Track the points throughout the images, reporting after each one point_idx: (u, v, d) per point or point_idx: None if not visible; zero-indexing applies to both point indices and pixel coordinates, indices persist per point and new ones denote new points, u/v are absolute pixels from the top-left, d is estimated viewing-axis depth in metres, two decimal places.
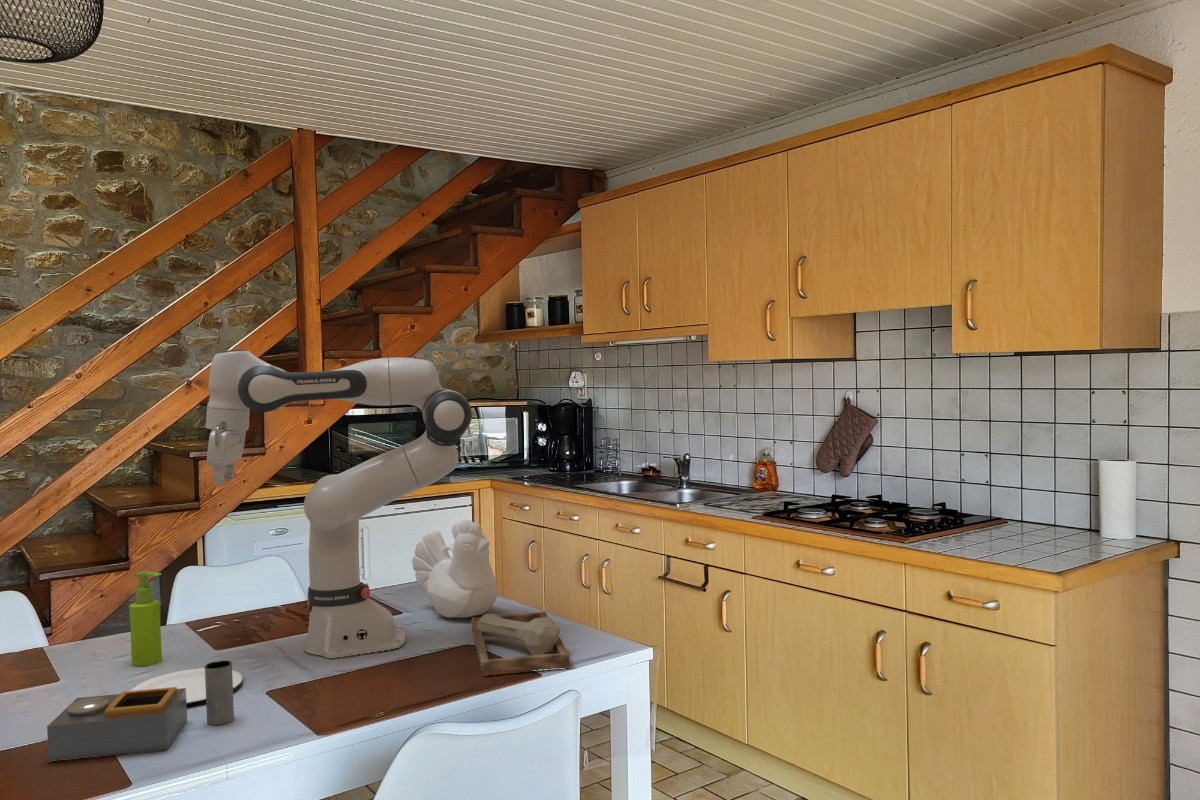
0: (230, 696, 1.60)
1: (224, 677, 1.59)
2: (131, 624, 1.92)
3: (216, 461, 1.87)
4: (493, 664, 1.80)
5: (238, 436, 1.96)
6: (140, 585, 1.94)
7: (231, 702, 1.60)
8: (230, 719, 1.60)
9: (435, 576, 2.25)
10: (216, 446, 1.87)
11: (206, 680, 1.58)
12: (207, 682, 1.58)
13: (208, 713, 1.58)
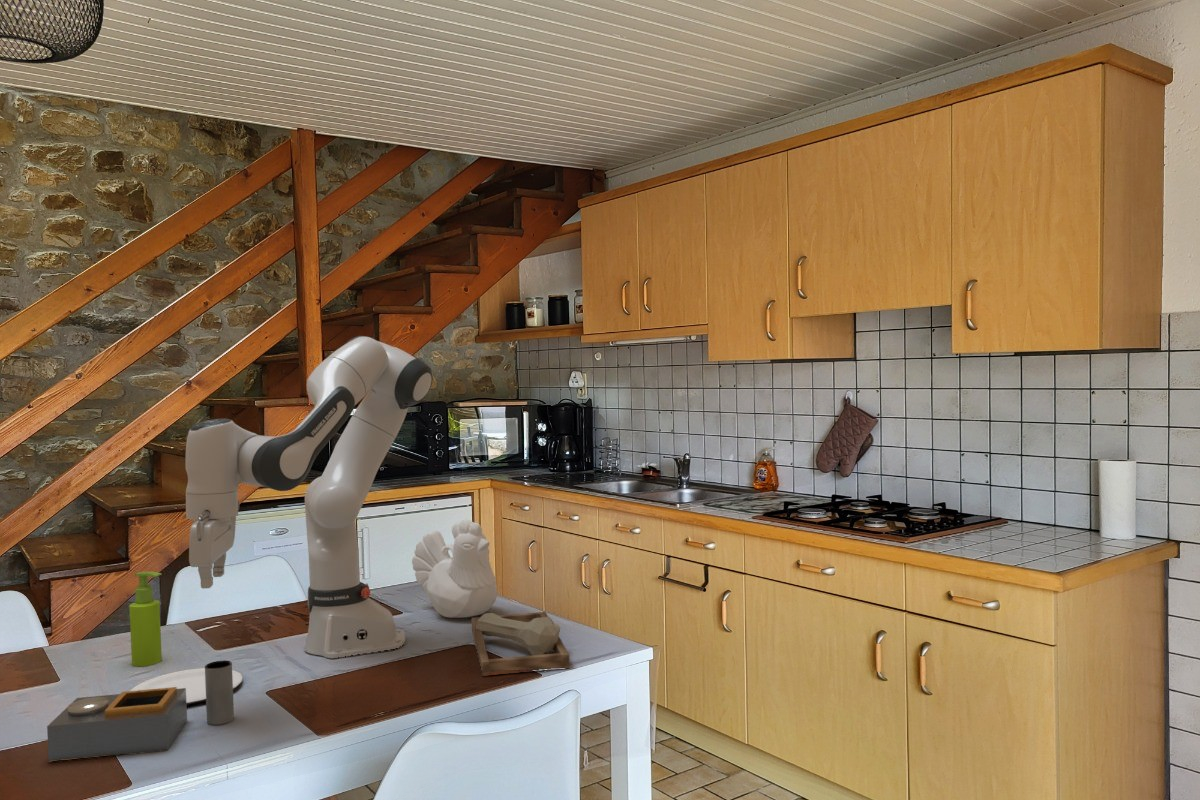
0: (230, 696, 1.60)
1: (224, 677, 1.59)
2: (131, 624, 1.92)
3: (201, 560, 1.53)
4: (493, 664, 1.80)
5: (226, 524, 1.62)
6: (140, 585, 1.94)
7: (231, 702, 1.60)
8: (230, 719, 1.60)
9: (435, 576, 2.25)
10: (199, 542, 1.53)
11: (206, 680, 1.58)
12: (207, 682, 1.58)
13: (208, 713, 1.58)
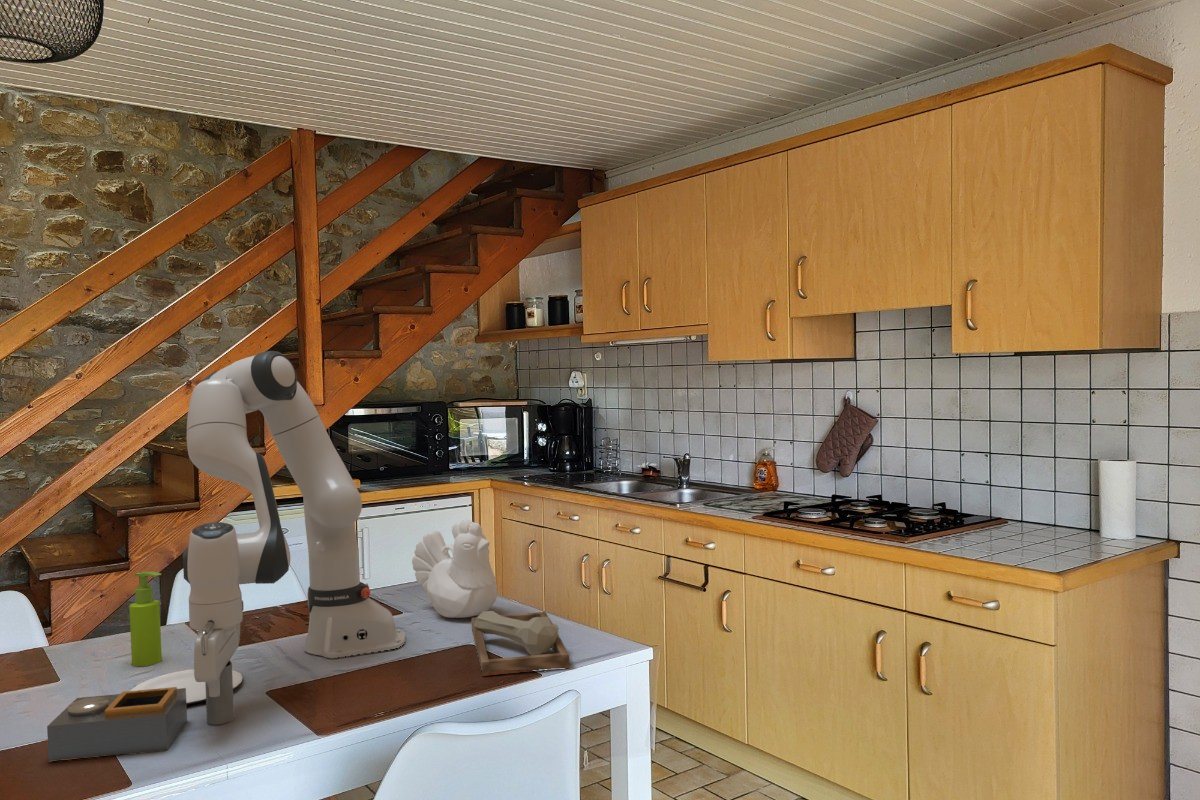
0: (230, 696, 1.60)
1: (224, 677, 1.59)
2: (131, 624, 1.92)
3: (206, 675, 1.50)
4: (493, 664, 1.80)
5: (231, 632, 1.59)
6: (140, 585, 1.94)
7: (231, 702, 1.60)
8: (230, 719, 1.60)
9: (435, 576, 2.25)
10: (204, 657, 1.50)
11: None
12: None
13: (208, 713, 1.58)
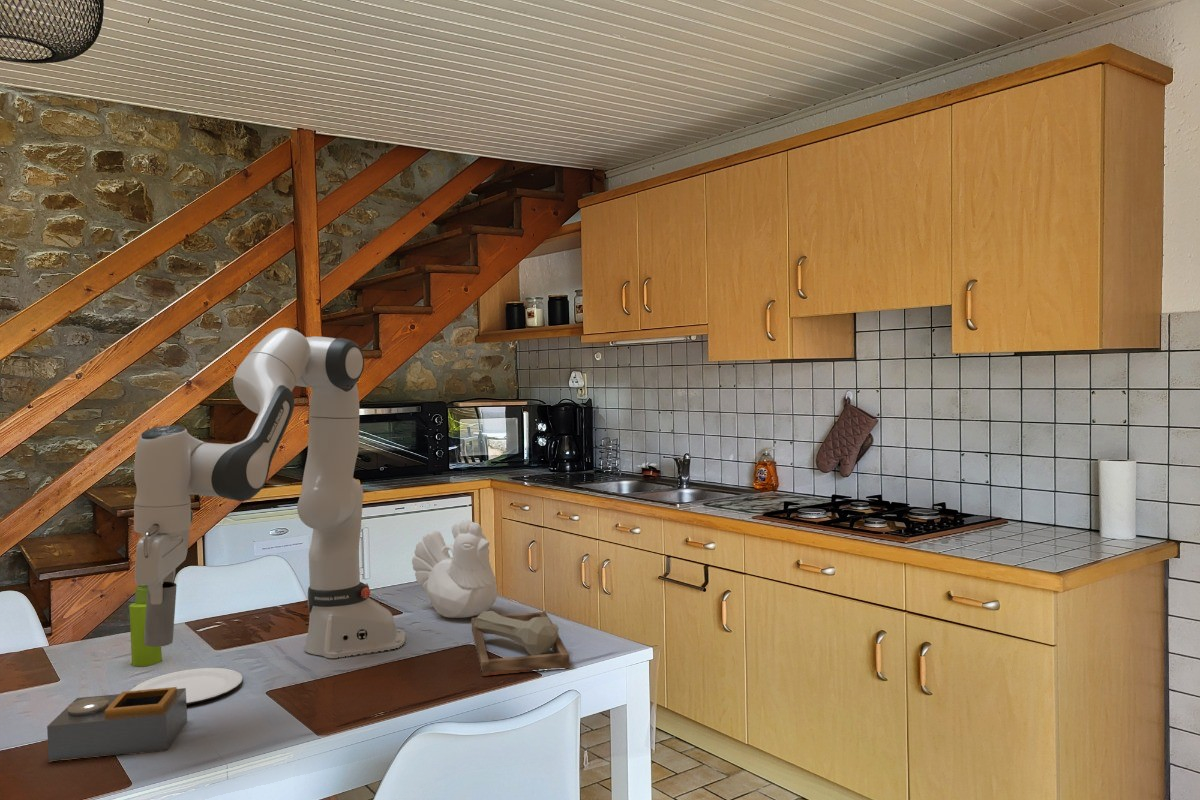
0: (171, 619, 1.53)
1: (166, 598, 1.52)
2: (131, 624, 1.92)
3: (148, 578, 1.44)
4: (493, 664, 1.80)
5: (177, 538, 1.53)
6: (140, 585, 1.94)
7: (171, 625, 1.54)
8: (168, 642, 1.53)
9: (435, 576, 2.25)
10: (146, 559, 1.44)
11: (147, 599, 1.52)
12: (148, 601, 1.52)
13: (146, 634, 1.52)
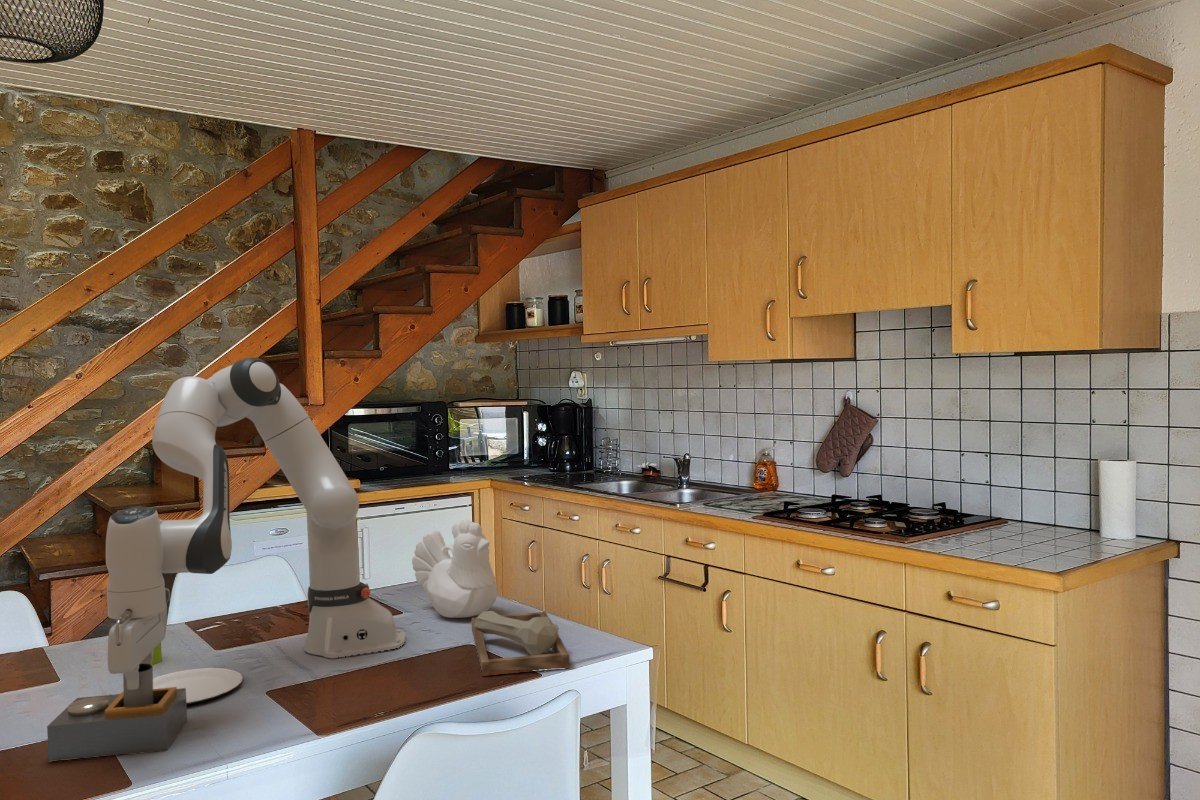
0: (150, 701, 1.52)
1: (143, 682, 1.51)
2: None
3: (121, 666, 1.43)
4: (493, 664, 1.80)
5: (152, 621, 1.52)
6: None
7: None
8: None
9: (435, 576, 2.25)
10: (118, 647, 1.43)
11: (124, 684, 1.51)
12: (125, 686, 1.51)
13: None
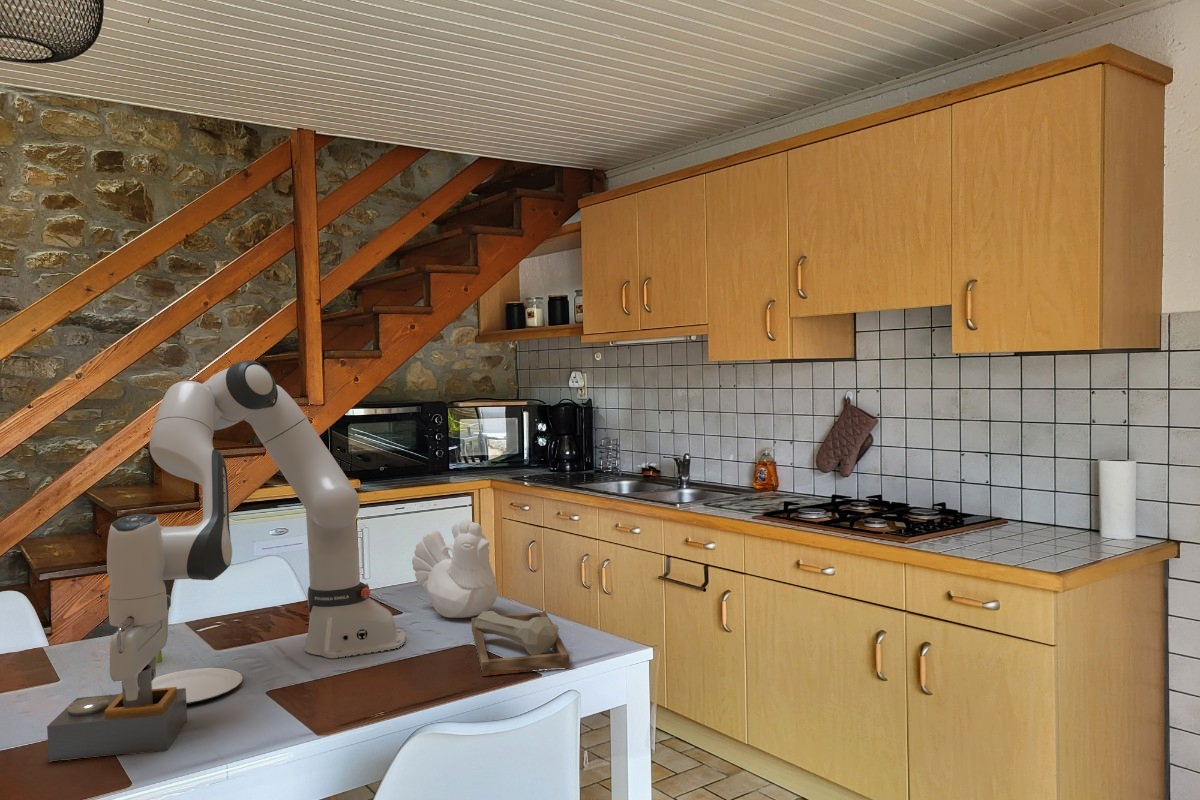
0: (149, 701, 1.52)
1: (141, 681, 1.51)
2: None
3: (123, 674, 1.43)
4: (493, 664, 1.80)
5: (153, 628, 1.52)
6: None
7: None
8: None
9: (435, 576, 2.25)
10: (120, 655, 1.43)
11: None
12: (123, 687, 1.51)
13: None
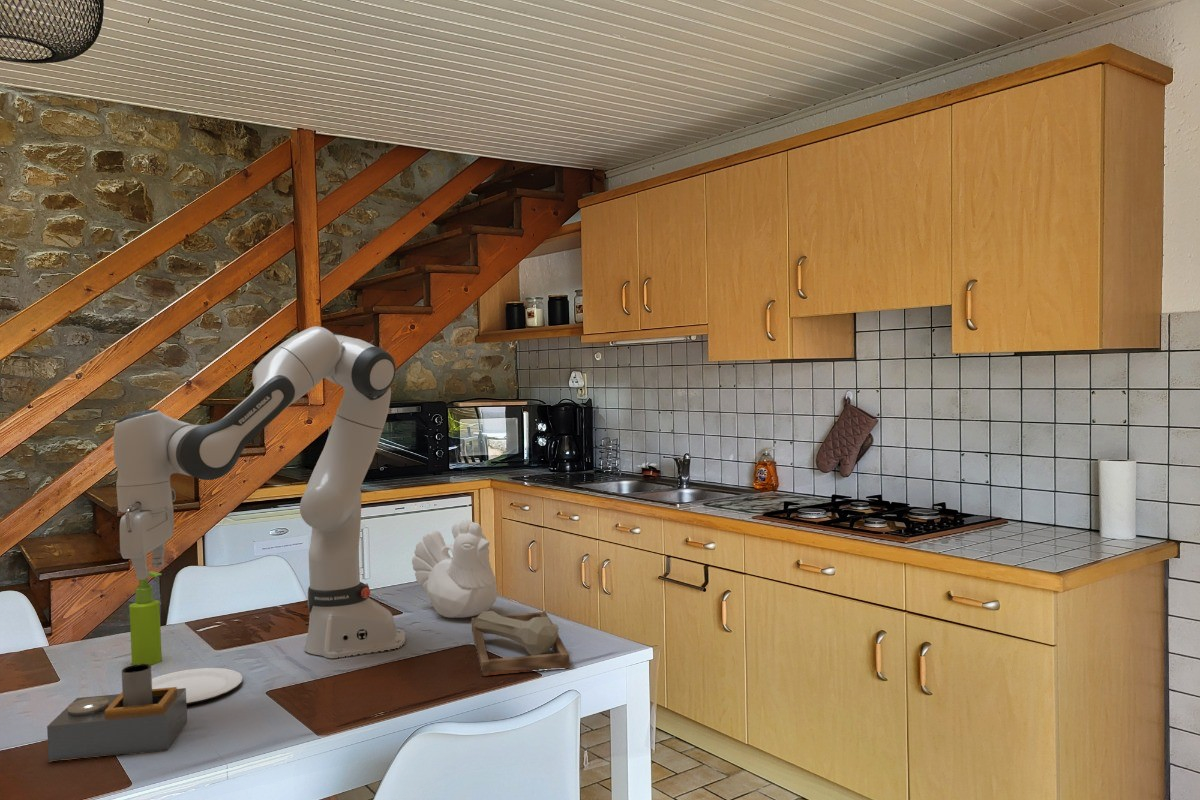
0: (149, 701, 1.52)
1: (142, 681, 1.51)
2: (131, 624, 1.92)
3: (132, 551, 1.53)
4: (493, 664, 1.80)
5: (159, 515, 1.62)
6: (140, 585, 1.94)
7: None
8: None
9: (435, 576, 2.25)
10: (129, 533, 1.53)
11: (123, 684, 1.51)
12: (123, 687, 1.51)
13: None
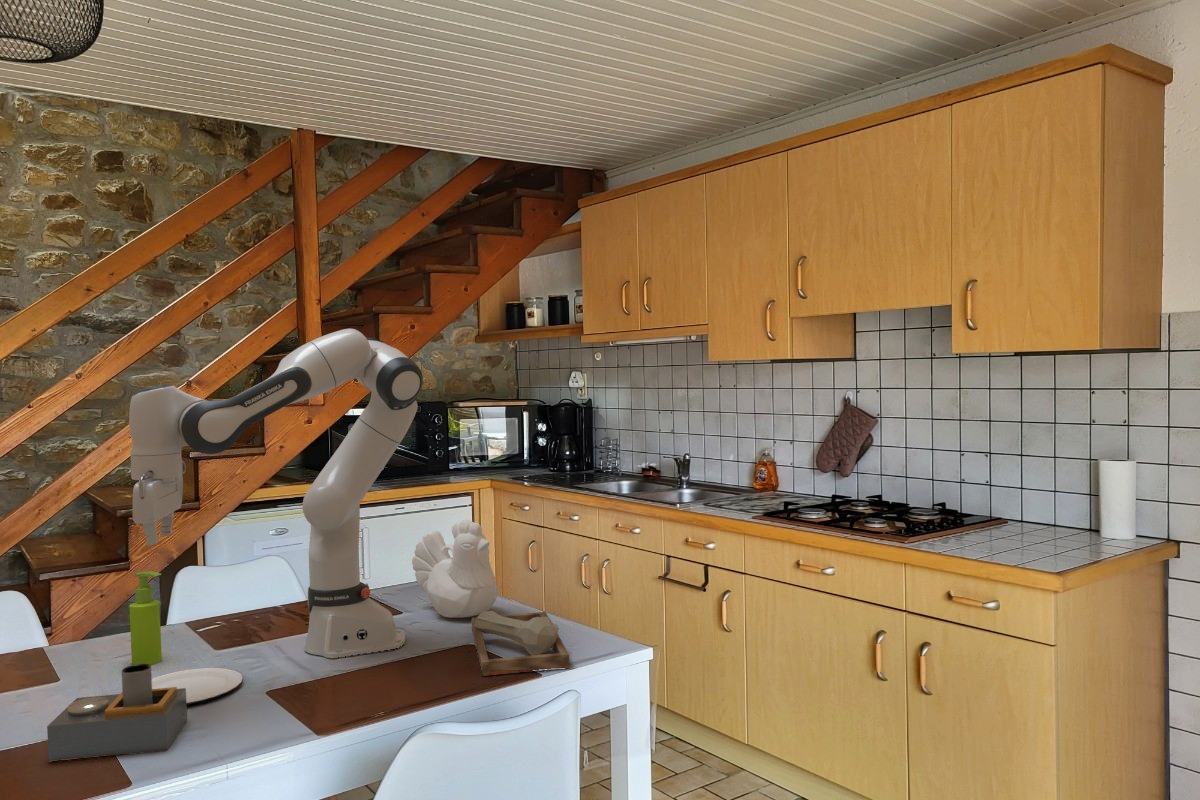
0: (149, 701, 1.52)
1: (141, 681, 1.51)
2: (131, 624, 1.92)
3: (144, 517, 1.61)
4: (493, 664, 1.80)
5: (170, 484, 1.70)
6: (140, 585, 1.94)
7: None
8: None
9: (435, 576, 2.25)
10: (142, 500, 1.61)
11: (123, 685, 1.51)
12: (123, 687, 1.51)
13: None
